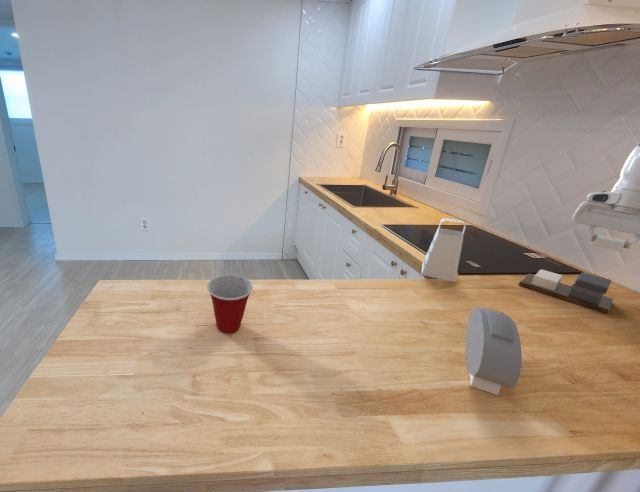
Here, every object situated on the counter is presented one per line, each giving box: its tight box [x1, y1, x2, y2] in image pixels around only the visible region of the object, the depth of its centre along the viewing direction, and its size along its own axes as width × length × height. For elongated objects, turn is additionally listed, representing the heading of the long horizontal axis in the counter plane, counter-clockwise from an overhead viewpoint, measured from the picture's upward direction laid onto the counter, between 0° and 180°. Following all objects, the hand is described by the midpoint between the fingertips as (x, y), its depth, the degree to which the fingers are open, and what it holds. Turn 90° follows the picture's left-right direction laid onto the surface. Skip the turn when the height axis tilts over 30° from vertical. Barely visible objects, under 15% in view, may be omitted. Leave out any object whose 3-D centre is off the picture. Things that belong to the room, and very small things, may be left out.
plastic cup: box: [206, 274, 254, 334], centre depth 81 cm, size 11×11×12 cm
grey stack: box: [568, 271, 612, 305], centre depth 107 cm, size 7×10×6 cm
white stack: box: [532, 268, 564, 291], centre depth 115 cm, size 6×10×3 cm, turn 130°
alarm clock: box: [464, 306, 523, 396], centre depth 73 cm, size 23×6×13 cm, turn 151°
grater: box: [421, 217, 467, 283], centre depth 118 cm, size 10×10×20 cm
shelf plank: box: [518, 273, 614, 314], centre depth 112 cm, size 22×12×2 cm, turn 40°
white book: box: [592, 234, 626, 252], centre depth 102 cm, size 6×10×2 cm, turn 130°
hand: (608, 244), depth 102 cm, fingers closed on white book, 6 cm apart
